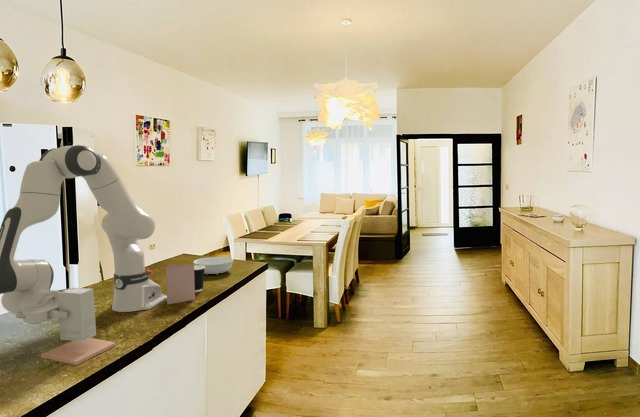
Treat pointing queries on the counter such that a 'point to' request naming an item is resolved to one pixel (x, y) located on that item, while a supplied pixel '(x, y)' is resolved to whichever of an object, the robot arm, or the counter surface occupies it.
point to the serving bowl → (215, 264)
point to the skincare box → (77, 314)
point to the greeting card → (180, 283)
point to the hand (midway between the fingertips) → (79, 310)
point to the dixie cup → (198, 277)
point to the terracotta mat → (78, 351)
